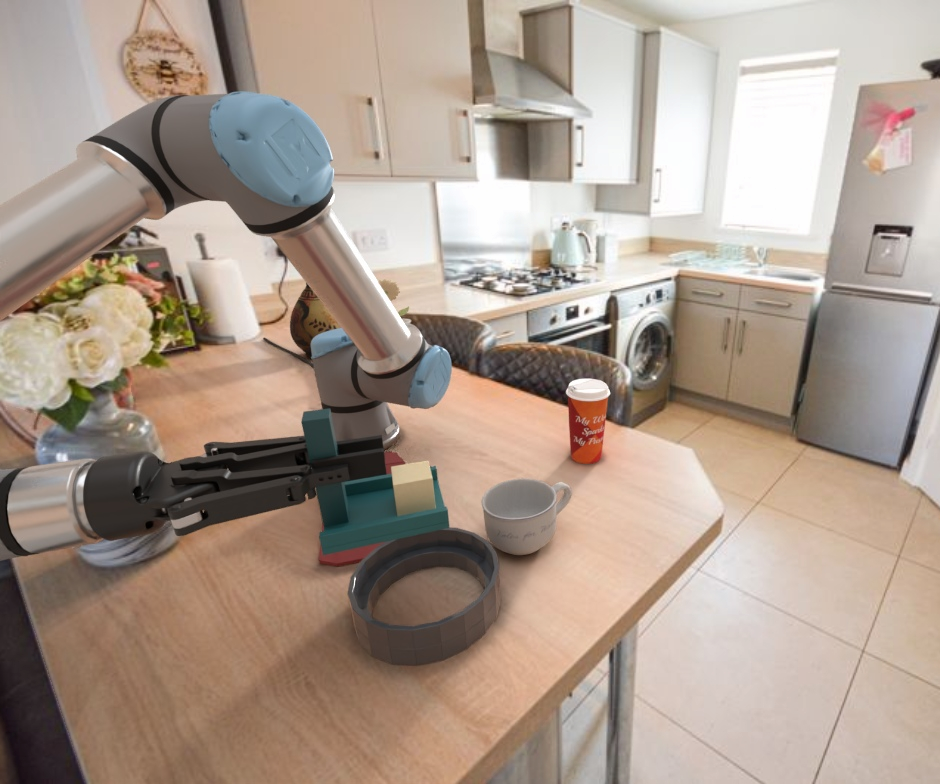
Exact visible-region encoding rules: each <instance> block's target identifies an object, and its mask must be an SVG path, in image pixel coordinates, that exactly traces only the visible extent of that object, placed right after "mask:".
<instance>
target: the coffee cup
mask: <svg viewBox="0 0 940 784" xmlns="http://www.w3.org/2000/svg"><path fill="white" fill-rule="evenodd" d="M565 394H566V395H567V406H568V408H567V409H568V429H569V430H568V431H569V447H570V448H569V449H570V456H571V457H570V458H571V459H572V460H573V461H574V462H576V463H579V464H585V465H588V464H589V465H590V464H595V463H597V462H599V461H601V459H602V454H603V448H604V447H603V446H604V438H605V437H604V436H605V428H606V419H607V411H608V402H609V401H608V400H609V396H610V395H611V391H610V389H609V386H608V384H607V383H605V382H604V381H602V380H600V379H595V378H578V379H574V380H572V381H570V383H569V384H568V386H567V388H566V390H565Z"/></svg>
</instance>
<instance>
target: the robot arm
mask: <svg viewBox="0 0 940 784" xmlns="http://www.w3.org/2000/svg"><path fill="white" fill-rule="evenodd" d="M75 153H76V159H75V160H74V161H71V162H70V163H68V164H66V165H65V166H63V167H61V168H60V169H58V170H57V171H55V172H54V173H52V174H50V175H48V176H47V177H45V178H43V179H41V180H40V181H38V182H37V183H35V184H33V185H32V186H29V187H28V188H26V189H25V190H23V191H21V192H19V193H18V194H16V195H14V196H13V197H11V198H9V199H8V200H5V201H4V202H3V203H1V204H0V322H1V321H3V320H4V319H6V318H7V317H8V316H10V315H11V314H13V313H14V312H16V311H17V310H18V309H19V308H21V307H22V306H24V305H25V304H27V303H28V302H30V301H31V300H32V299H33V298H35V297H36V296H38V295H39V294H41V293H42V292H43V291H45V290H46V289H48V288H49V287H50V286H52V285H53V284H54V283H56V282H57V281H59V280H60V279H61V278H62V277H64V276H66V275H67V274H69V273H70V272H72V270H74V269H75V268H77V267H78V266H80V265H81V264H83V263H84V262H85V261H86V260H88V259H89V258H91V257H93V256H94V255H95V254H96V253H98V252H100V251H101V250H102V249H104V248H105V247H106V246H107V245H109V244H110V243H112V242H113V241H114V240H116V239H117V238H119V237H121V236H122V235H123V234H124V233H126V232H127V231H128V230H130V229H131V228H132V227H134V226H135V225H137V224H138V223H140V222H141V221H143V220H144V219H145V220H150V221H151V220H152V221H159V220H161V219H163V218H165V217H166V216H167V215H168V214H170V213H171V212H172V211H175V210H176V209H178V208H181V207H183V206H187V205H190V204H193V203H198V202H205V201H210V202H225V203H226V204H227V205H228V206H229V207H230V209H232V211H233V212H234V213H235V215H236V216H237V217H238V218H239V219H240V221H241V222H242V223H243V224H244V225H245V227H246V228H247V229H248V230H249V231H250V232H251V233H252V234H254V235H257V236H261V237H265V238H271V239H272V240H273V242H274V244H275V245H276V246H277V247H278V248H279V250H280V251H281V253H282V254H283V255H284V256H285V257H286V258H287V260H288V261H289V262H290V263H291V266H292V267H294V269H295V270H296V271H297V273H298V274H299V276H300V277H301V278H302V279H303V280H304V282H305V284H306V283H307V284H308V285H309V287H310V288H311V289H312V291H313V292H314V293H315V294H316V296H317V297H318V298H319V300H320V301H321V302H322V303H323V305H324V306H325V307H326V309H327V310H328V311H329V312H330V314H331V315H332V316H333V318H334V319H335V320H336V321H337V323H338V324H339V325H340V327H341V328H338V329H334V330H330V331H326V332H323V333H321V334H318V335H316V336H315V337H314V338H313V339H312V341H311V352H312V357H311V359H310V360H311V361H312V362H311V361H310V360H309V359H308V358H306V357H303V356H302V355H299V354H297V353H295V352H294V351H291V350H289V349H288V348H286V347H283V346H281V345H279V344H277V343H275V342H273V341H271V340H270V339H268V338H266V337H263V338H262V340H263V341H265V342H266V343H268V344H269V345H271V346H273V347H275V348H277V349H279V350H281V351H283V352H285V353H288V354H289V355H292V356H293V357H295V358H298V359H299V360H301V361H303V362H304V363H306V364H307V365H309V367H311V368H312V369H313V372H314V376H315V380H316V386H317V391H318V395H319V399H320V400H319V401H320V405H321V409H328V408H330V409H331V415H332V420H333V426H334V431H335V436H336V442H337V447H338V453H339V455H336V456H330V457H323V458H317V459H312V467H313V468H311V465H310V460H309V455H308V451H307V446H306V441H305V437H304V435H297V436H286V437H285V436H284V437H276V438H266V439H265V438H263V439H255V440H242V441H233V442H227V441H209V442H206V443H205V444H204V445H203V449H204V453H202V454H201V455H197V456H188V457H184V458H181V459H178V460H174V461H171V462H166V461H164V460H161V459H160V458H159V457H158V456H157V455H156V454H155V453H153V452H151V451H145V450H143V451H142V450H141V451H135V452H127V453H119V454H114V455H106V456H101V457H99V458H98V459H96V460H95V459H94V458H79V459H73V460H66V461H65V460H64V461H59V462H52V463H46V464H45V463H44V464H39V465H33V466H27V467H20V468H19V467H17V468H6V469H1V468H0V562H1V561H5V560H12V559H16V558H21V557H29V556H33V555H40V554H43V553H48V552H54V551H55V552H56V551H60V550H66V549H73V550H74V549H78V548H81V547H84V546H88V545H89V546H90V545H95V544H98V543H101V542H102V541H103V540H105V541H109V542H113V541H114V542H115V541H118V540H125V539H129V538H135V537H141V536H145V535H151V534H155V533H157V532H159V531H160V530H161V529H162V528H163V527H164V526H165V524H166V523H167V522H170V523H171V525H172V528H173V531H174V534H175V536H176V537H184V536H187V535H190V534H192V533H195V532H197V531H200V530H202V529H205V528H207V527H210V526H215V525H219V524H223V523H226V522H230V521H235V520H240V519H243V518H247V517H252V516H256V515H260V514H264V513H269V512H273V511H277V510H280V509H284V508H289V507H290V508H291V507H293V506H298V505H302V504H304V503H305V502H306V501H307V499H308V500H312V499H314V498H317V493H316V488H315V487H318V486H323V485H329V484H335V483H340V482H346V481H352V480H358V479H364V478H369V477H375V476H381V475H387V472H386V465H385V454H384V452H385V450H387V449H388V448H390V447H392V446H394V444H396V443H397V442H398V440H399V439H400V436H401V432H400V431H401V430H400V424H399V423H398V420H397V419H396V417H395V415H394V413H393V411H392V410H391V408H390V405H389V404H393V405H398V406H403V407H410V409H422V410H428V409H430V408H434V407H435V406H437V405H438V404H439V403H440V402H441V401H442V399H443V398H444V397H445V395H446V393H447V390H448V389H449V386H450V382H451V377H452V370H453V366H452V365H453V364H452V359H451V356H450V352H448V350H447V349H446V348H444V347H442V346H439V345H438V344H434V345H431V344H429V343H428V342H427V340H426V339H425V337H424V335H423V333H422V332H421V331H420V329H419V328H418V327H417V326H416V325H414V324H412V323H411V322H410V323H406V322H403V320H402V319H403V318H402V316H400V315H399V314H398V312H399V311H397V309H396V308H395V306H394V304H393V302H392V301H390V300H389V298H388V297H387V295H386V293H385V292H384V290H383V289H382V287H381V285H380V284H379V282H378V281H379V280H378V279H377V278H376V276H375V274H374V273H373V271H372V269H371V268H370V267H369V265H368V263H367V261H365V259H364V256H363V255H362V254H361V252H360V250H359V249H358V247H357V245H356V244H355V243H354V241H353V240H352V238H351V237H350V235H349V233H348V232H347V230H346V228H345V227H344V225H343V224H342V221H340V219H339V217H338V216H337V214H336V213H335V211H334V210H333V208H332V205H333V202H334V200H335V196H336V193H335V190H334V187H333V183H334V179H335V168H334V167H332V166H331V163H332V162H333V161H334V157H333V153H332V150H331V146H330V144H329V142H328V140H327V139H326V137H325V134H324V132H323V131H322V130H321V128H320V127H319V125H318V124H317V122H315V121H314V119H313V118H312V117H311V116H310V115H309V114H308V113H307V112H305V110H304V109H302V108H301V107H299V106H298V105H297V104H295V103H293V102H291V101H290V100H288V99H287V100H286V99H285V98H283V97H280V96H277V95H273V94H268V93H267V94H266V93H260V92H259V93H258V92H253V91H247V90H245V91H244V90H243V91H242V90H241V91H233V92H229V93H216V94H192V95H189V94H179V95H168V96H166V97H162V98H159V99H157V100H154V101H151V102H149V103H147V104H144V105H143V106H141V107H138V109H136V110H134V111H132V112H129V114H127V115H125V116H123V117H122V118H120V119H119V120H117V121H115V122H114V123H112V124H110V125H108V126H107V127H106V128H104V129H102V130H100V131H99V132H97V133H95V134H94V135H92V136H90V137H88V138H87V139H85V140H83V141H81V142H80V143H79V144H77V145H76V148H75ZM306 496H307V497H306Z"/></svg>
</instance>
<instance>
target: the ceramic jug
mask: <svg viewBox="0 0 940 784" xmlns="http://www.w3.org/2000/svg"><path fill="white" fill-rule="evenodd" d="M338 328H341V327H340V325H339V324H338V323H337V321H336V320H335V319H334V318H333V316H332V315H331V314H330V312H329V311H328V310H327V309H326V307H325V306H324V305H323V303H322V302H321V301H320V300H319V298H318V297H317V296H316V294H315V293H314V292H313V291H312V289H311V288H310V287H309V285H308V284H307V283H306V282H305V286H304V289H303V290H302V291H301V293H300V295H299V297H298V298H297V300H296V302H295V304H294V306H293V307H292V311H291V314H290V320H289V332H290V336H291V339H292V341H293V342H294V344H295V345H296V346H297V347H298V348H299V349H300V350H301V351H302V352H303V353H304V355H305V358H306V359H307V360H312V359H311V357H312V352H311V341H312V339H313V338H314V337H315V336H316V335H318V334H321V333H323V332H326V331H330V330H334V329H338Z"/></svg>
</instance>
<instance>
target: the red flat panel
mask: <svg viewBox="0 0 940 784" xmlns="http://www.w3.org/2000/svg"><path fill="white" fill-rule="evenodd" d="M384 454H385V465H386V472H387V474H392V472H391V467H392V466H398V465H404V464H406V462H405V460H404V459H403V457H402V456H400V454H398V453H397V452H396V451H395V452H393V451H392V450H389V451H384ZM322 531H324V526H323V521H322V524H321V532H322ZM383 543H385V542H382V543H378V544H373V545H368V546H364V547H359V548H355V549H350V550H345V551H341V552H336V553H332V554H327V555H323V553H322V548H321V543H320V542H319V553H318V563H319V564H320V565H324V566H331V567H342V566H343V567H344V566H348V565H354V564H357V563H358V564H359V563H360V562H361V560H363V559H364V558H365V557H366V556H367V555H368V554H369V553H371V552H372V551H373V550H374V549H375V548H377V547H378V546H380V545H381V544H383Z"/></svg>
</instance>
